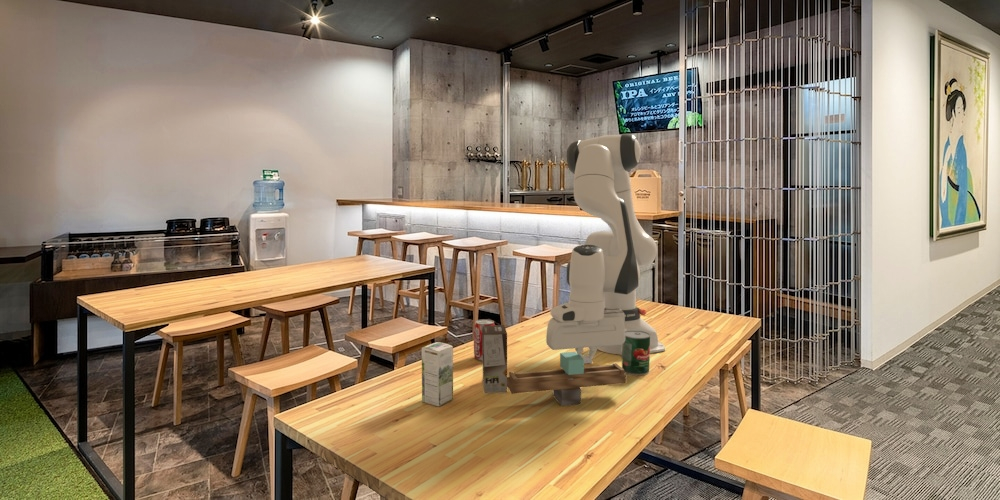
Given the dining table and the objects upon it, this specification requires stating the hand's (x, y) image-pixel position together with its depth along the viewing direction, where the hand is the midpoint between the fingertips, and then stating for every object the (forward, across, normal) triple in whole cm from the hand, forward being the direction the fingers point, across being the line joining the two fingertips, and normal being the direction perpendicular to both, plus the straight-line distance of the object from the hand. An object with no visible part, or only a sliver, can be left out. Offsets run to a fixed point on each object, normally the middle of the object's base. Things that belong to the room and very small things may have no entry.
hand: (585, 363), depth 136 cm
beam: (+9, +5, 0) cm, 10 cm away
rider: (+3, +4, 0) cm, 5 cm away
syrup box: (+10, +37, -7) cm, 39 cm away
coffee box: (+10, +21, -13) cm, 26 cm away
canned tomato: (+9, -22, -16) cm, 29 cm away
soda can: (+9, +19, -37) cm, 43 cm away
